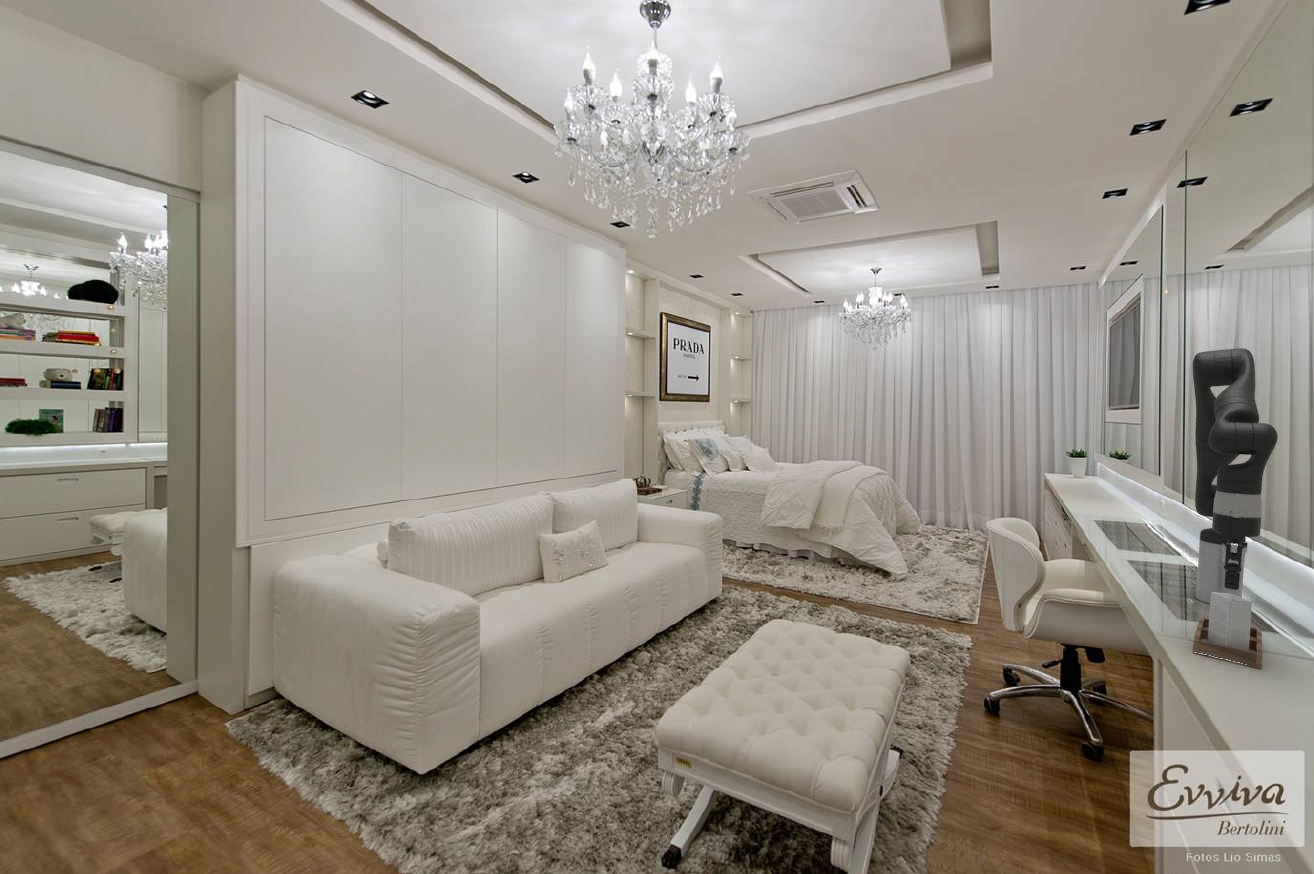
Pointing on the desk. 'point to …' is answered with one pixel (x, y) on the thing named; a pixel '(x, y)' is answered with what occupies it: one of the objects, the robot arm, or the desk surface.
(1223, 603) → the skincare box
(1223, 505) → the robot arm
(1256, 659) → the wooden divided tray
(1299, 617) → the desk surface
